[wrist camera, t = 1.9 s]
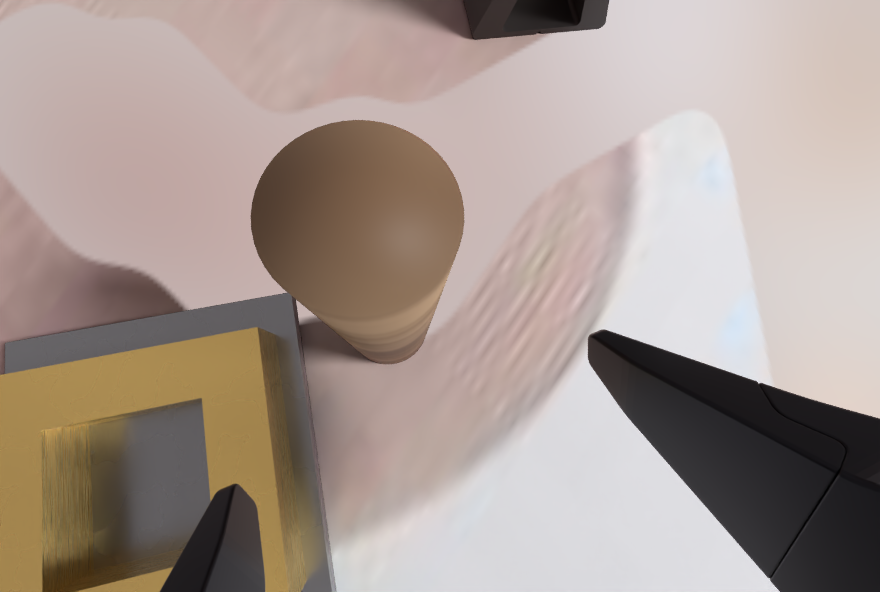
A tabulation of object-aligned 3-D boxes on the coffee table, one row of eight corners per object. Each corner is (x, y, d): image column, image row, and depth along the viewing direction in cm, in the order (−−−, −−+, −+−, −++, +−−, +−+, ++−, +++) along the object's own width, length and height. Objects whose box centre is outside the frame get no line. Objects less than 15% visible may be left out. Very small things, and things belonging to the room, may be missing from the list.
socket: (339, 615, 18) (325, 664, 15) (19, 705, 17) (-74, 781, 13) (295, 295, 21) (275, 279, 18) (20, 344, 20) (-55, 336, 16)
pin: (433, 355, 21) (485, 293, 8) (357, 371, 21) (263, 335, 7) (418, 282, 22) (440, 108, 8) (344, 296, 21) (240, 133, 8)
